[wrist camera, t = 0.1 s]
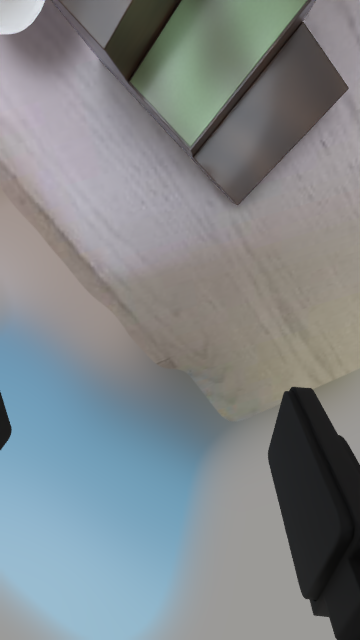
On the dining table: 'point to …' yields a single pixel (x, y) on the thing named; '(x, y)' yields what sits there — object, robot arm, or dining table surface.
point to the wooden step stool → (217, 76)
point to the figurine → (18, 14)
